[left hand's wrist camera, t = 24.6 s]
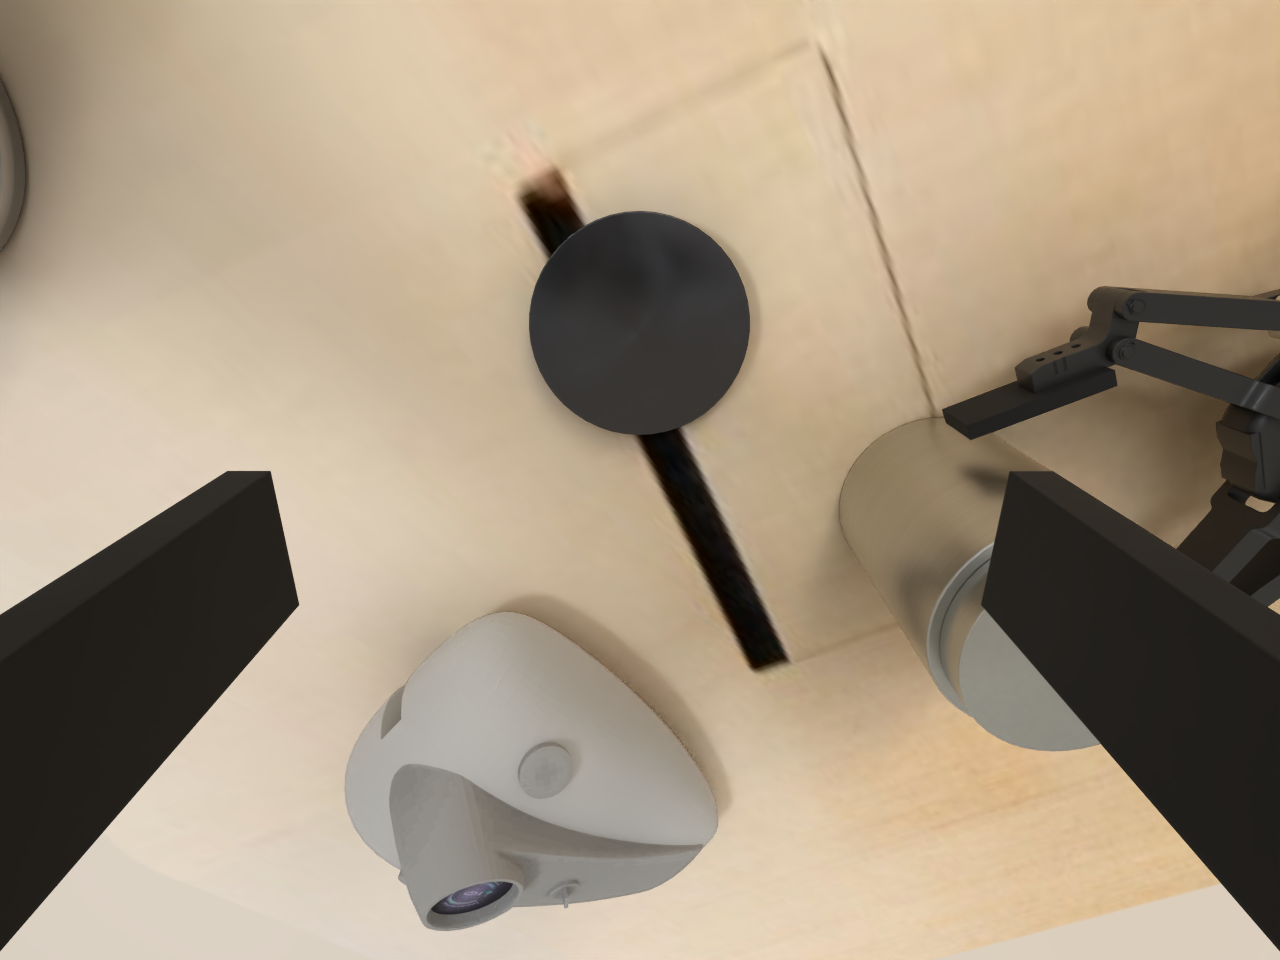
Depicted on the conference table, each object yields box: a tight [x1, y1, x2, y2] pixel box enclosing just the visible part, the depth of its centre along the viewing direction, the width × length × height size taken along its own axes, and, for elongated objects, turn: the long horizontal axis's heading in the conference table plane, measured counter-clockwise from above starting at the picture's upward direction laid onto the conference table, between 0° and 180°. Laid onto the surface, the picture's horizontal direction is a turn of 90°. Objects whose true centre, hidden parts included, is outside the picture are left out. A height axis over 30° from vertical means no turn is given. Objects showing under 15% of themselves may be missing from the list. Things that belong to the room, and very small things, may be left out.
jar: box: [839, 417, 1100, 751], centre depth 33 cm, size 10×10×15 cm
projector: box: [345, 612, 718, 931], centre depth 39 cm, size 22×23×15 cm
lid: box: [529, 211, 750, 435], centre depth 35 cm, size 11×11×2 cm
